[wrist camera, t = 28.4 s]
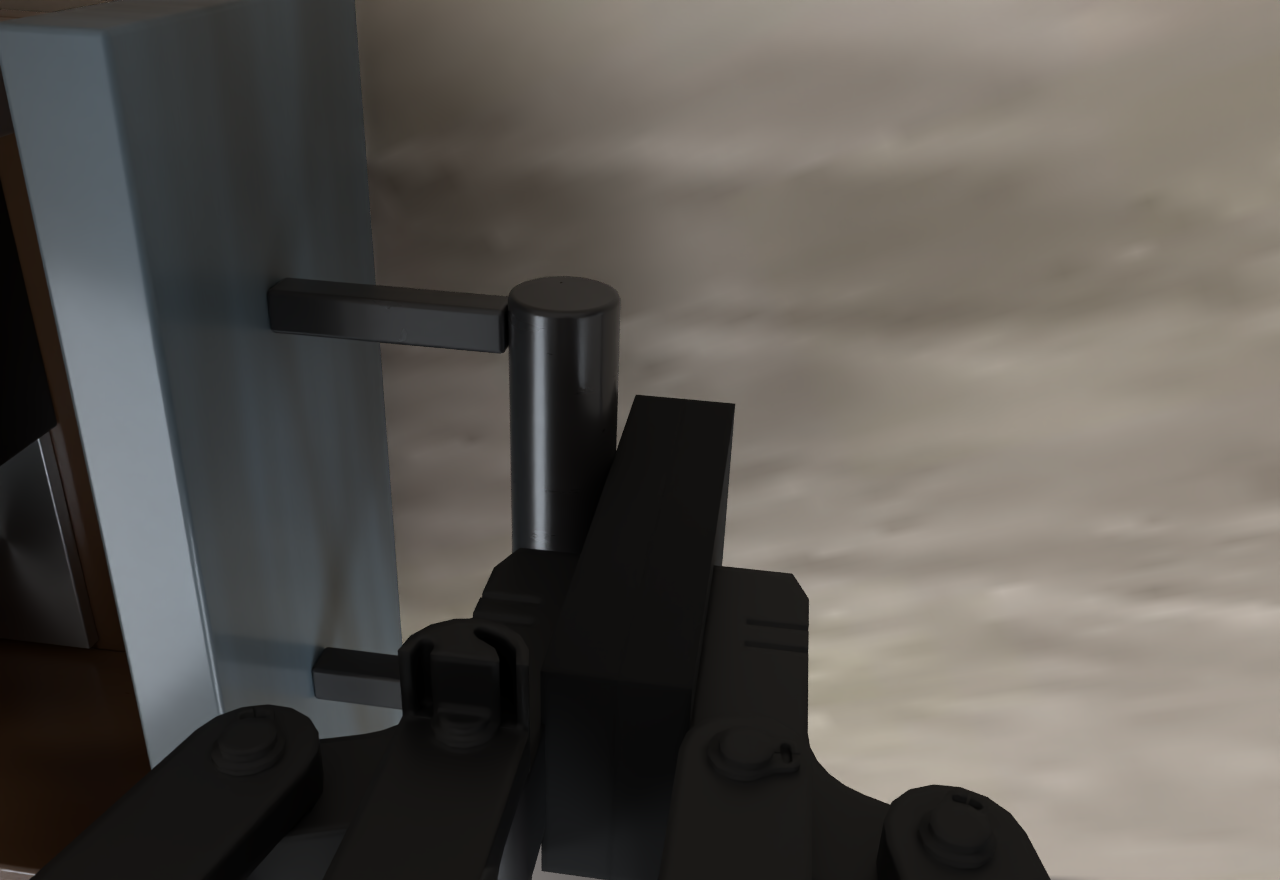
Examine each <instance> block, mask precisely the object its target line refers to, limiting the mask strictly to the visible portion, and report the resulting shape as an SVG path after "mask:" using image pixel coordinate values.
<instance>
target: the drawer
mask: <svg viewBox="0 0 1280 880" xmlns="http://www.w3.org/2000/svg"><path fill="white" fill-rule="evenodd" d="M0 179H1V183H2V187H3V191H4V196H5V200H6V204H7V209H8V213H9V217H10V222H11V226H12V230H13V235H14V239H15V243H16V247H17V252H18V256H19V260H20V265H21V269H22V273H23V278H24V282H25V286H26V290H27V295H28V299H29V303H30V308H31V312H32V316H33V321H34V325H35V329H36V333H37V338H38V342H39V346H40V351H41V355H42V359H43V364H44V368H45V372H46V377H47V381H48V385H49V389H50V394H51V398H52V402H53V407H54V411H55V415H56V420H57V426H56V427H54V428H53V429H51V430H50V431H49V433H50V438H51V442H52V446H53V450H54V454H55V459H56V463H57V467H58V471H59V476H60V480H61V484H62V488H63V492H64V497H65V501H66V505H67V509H68V513H69V518H70V522H71V526H72V530H73V535H74V539H75V543H76V547H77V551H78V556H79V560H80V564H81V568H82V573H83V577H84V581H85V585H86V589H87V594H88V598H89V602H90V606H91V611H92V615H93V619H94V623H95V627H96V632H97V636H98V641H97V642H96V643H95V644H94V645H93V646H92V647H91V648H89V649H87V648H79V647H71V646H62V645H54V644H45V643H37V642H29V641H20V640H12V639H4V638H0V880H29V879H30V878H32V877H33V876H34V875H35V874H36V873H37V872H38V871H39V870H40V869H42V868H43V867H44V866H45V865H46V864H47V863H48V862H49V861H50V860H52V859H53V858H54V857H55V856H56V855H57V854H58V853H59V852H60V851H62V850H63V849H64V848H65V847H66V846H67V845H68V844H69V843H70V842H72V841H73V840H74V839H75V838H76V837H77V836H78V835H79V834H81V833H82V832H83V831H84V830H85V829H86V828H87V827H88V826H89V825H91V824H92V823H93V822H94V821H95V820H96V819H97V818H98V817H99V816H101V815H102V814H103V813H104V812H105V811H106V810H107V809H108V808H109V807H111V806H112V805H113V804H114V803H115V802H116V801H117V800H118V799H119V798H121V797H122V796H123V795H124V794H125V793H126V792H127V791H128V790H130V789H131V788H132V787H133V786H134V785H135V784H136V783H137V782H138V781H140V780H141V779H142V778H143V777H144V776H145V775H146V774H147V773H148V772H150V771H151V770H152V769H153V768H154V767H155V766H156V765H157V764H158V763H160V762H161V761H162V760H163V759H164V758H165V757H166V756H167V755H168V754H170V753H171V752H172V751H173V750H174V749H175V748H176V747H177V746H179V745H180V744H181V743H182V742H183V741H184V740H185V739H186V738H187V737H189V736H190V735H191V734H192V733H193V732H194V731H195V730H197V729H198V728H200V727H201V726H203V725H204V724H206V723H207V722H209V721H210V720H212V719H213V718H215V717H216V716H218V715H221V714H224V713H227V712H230V711H233V710H235V709H238V708H241V707H247V706H256V705H266V704H271V705H277V706H283V707H290V708H293V709H295V710H297V711H299V712H300V713H302V714H304V715H306V716H308V717H309V718H310V719H311V721H312V722H313V724H314V726H315V727H316V729H317V730H318V732H319V739H325V738H334V737H342V736H351V735H360V734H366V733H371V732H376V731H381V730H384V729H387V728H389V727H392V726H395V725H398V724H399V722H400V720H401V718H402V716H403V713H402V701H401V688H400V675H399V663H398V649H399V648H400V647H401V646H402V634H401V621H400V607H399V594H398V580H397V567H396V553H395V540H394V526H393V513H392V499H391V485H390V472H389V458H388V445H387V431H386V418H385V404H384V391H383V377H382V363H381V350H380V343H391V344H402V345H412V346H423V347H434V348H445V349H456V350H467V351H478V352H489V353H504V352H505V350H506V349H507V347H508V346H509V397H510V455H511V512H512V553H513V552H515V551H516V550H517V549H519V548H529V549H539V550H548V551H558V552H567V553H576V554H581V552H582V549H583V546H584V543H585V540H586V537H587V534H588V532H589V529H590V526H591V523H592V520H593V517H594V514H595V511H596V508H597V506H598V503H599V500H600V497H601V494H602V491H603V488H604V485H605V482H606V479H607V477H608V474H609V471H610V468H611V465H612V462H613V460H614V458H615V455H616V438H617V406H618V374H619V342H620V310H621V299H620V296H619V294H618V292H617V291H616V290H615V289H614V288H613V287H611V286H609V285H607V284H605V283H602V282H599V281H596V280H592V279H587V278H581V277H570V276H555V277H544V278H538V279H533V280H529V281H526V282H523V283H521V284H519V285H517V286H515V287H514V288H513V289H512V290H511V292H510V294H509V296H497V295H485V294H473V293H462V292H450V291H438V290H427V289H415V288H404V287H392V286H380V285H376V282H375V269H374V255H373V241H372V228H371V214H370V201H369V187H368V174H367V160H366V147H365V133H364V120H363V106H362V92H361V79H360V65H359V52H358V38H357V25H356V11H355V0H117V1H112V2H106V3H101V4H95V5H90V6H84V7H79V8H73V9H67V10H62V11H56V12H36V11H19V10H2V9H0Z"/></svg>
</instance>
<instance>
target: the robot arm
mask: <svg viewBox="0 0 1280 880" xmlns="http://www.w3.org/2000/svg"><path fill="white" fill-rule="evenodd" d="M734 412H735V404H732V403H721V402H710V401H699V400H688V399H677V398H666V397H655V396H644V395H636V396H635V398H634V401H633V404H632V407H631V410H630V413H629V416H628V419H627V422H626V425H625V427H624V430H623V433H622V436H621V439H620V442H619V445H618V448H617V451H616V455H615V458H614V460H613V462H612V465H611V468H610V471H609V474H608V477H607V479H606V482H605V485H604V488H603V491H602V494H601V497H600V500H599V503H598V506H597V508H596V511H595V514H594V517H593V520H592V523H591V526H590V529H589V532H588V534H587V537H586V540H585V543H584V546H583V549H582V552H581V554H576V553H567V552H558V551H548V550H539V549H529V548H519V549H517V550H516V551H515V552H513V553H512V554H511V555H510V556H508V557H507V558H506V559H505V560H503V561H502V562H501V563H499V564H498V565H497V566H496V567H494V569H493V571H492V573H491V575H490V578H489V580H488V582H487V584H486V586H485V588H484V590H483V593H482V598H481V597H480V599H479V601H478V603H477V606H476V608H475V610H474V612H473V618H470V619H452V620H448V621H444V622H439V623H435V624H431V625H429V626H427V627H425V628H424V629H422V630H420V631H418V632H416V633H414V634H413V635H411V636H410V637H409V638H408V639H407V640H406V641H405V643H404V644H403V645H402V646H401V647H400V648H399V649H398V663H399V675H400V688H401V701H402V713H403V716H402V718H401V720H400V722H399V724H398V725H395V726H392V727H389V728H387V729H384V730H381V731H376V732H371V733H366V734H360V735H351V736H342V737H334V738H325V739H319V732H318V730H317V729H316V727H315V726H314V724H313V722H312V721H311V719H310V718H309V717H308V716H306V715H304V714H302V713H300V712H299V711H297V710H295V709H293V708H290V707H283V706H277V705H271V704H266V705H256V706H247V707H241V708H238V709H235V710H233V711H230V712H227V713H224V714H221V715H218V716H216V717H215V718H213V719H212V720H210V721H209V722H207V723H206V724H204V725H203V726H201V727H200V728H198V729H197V730H195V731H194V732H193V733H192V734H191V735H190V736H189V737H187V738H186V739H185V740H184V741H183V742H182V743H181V744H180V745H179V746H177V747H176V748H175V749H174V750H173V751H172V752H171V753H170V754H168V755H167V756H166V757H165V758H164V759H163V760H162V761H161V762H160V763H158V764H157V765H156V766H155V767H154V768H153V769H152V770H151V771H150V772H148V773H147V774H146V775H145V776H144V777H143V778H142V779H141V780H140V781H138V782H137V783H136V784H135V785H134V786H133V787H132V788H131V789H130V790H128V791H127V792H126V793H125V794H124V795H123V796H122V797H121V798H119V799H118V800H117V801H116V802H115V803H114V804H113V805H112V806H111V807H109V808H108V809H107V810H106V811H105V812H104V813H103V814H102V815H101V816H99V817H98V818H97V819H96V820H95V821H94V822H93V823H92V824H91V825H89V826H88V827H87V828H86V829H85V830H84V831H83V832H82V833H81V834H79V835H78V836H77V837H76V838H75V839H74V840H73V841H72V842H70V843H69V844H68V845H67V846H66V847H65V848H64V849H63V850H62V851H60V852H59V853H58V854H57V855H56V856H55V857H54V858H53V859H52V860H50V861H49V862H48V863H47V864H46V865H45V866H44V867H43V868H42V869H40V870H39V871H38V872H37V873H36V874H35V875H34V876H33V877H32V878H30V879H29V880H532V874H533V870H534V867H535V864H536V860H537V856H538V853H539V849H540V846H542V871H546V872H553V873H560V874H568V875H576V876H582V877H590V878H597V879H604V880H1051V879H1050V878H1049V876H1048V874H1047V872H1046V870H1045V868H1044V866H1043V864H1042V862H1041V860H1040V859H1039V857H1038V855H1037V853H1036V851H1035V849H1034V847H1033V845H1032V843H1031V841H1030V840H1029V838H1028V836H1027V834H1026V832H1025V831H1024V830H1023V829H1022V827H1021V826H1020V825H1019V824H1018V822H1017V821H1016V820H1015V818H1014V817H1013V816H1012V815H1011V813H1009V812H1008V811H1006V810H1005V809H1004V808H1002V807H1001V806H999V805H998V804H996V803H995V802H994V801H992V800H991V799H989V798H988V797H986V796H983V795H980V794H977V793H975V792H972V791H969V790H967V789H964V788H961V787H953V786H943V785H929V786H924V787H919V788H914V789H910V790H908V791H907V792H905V793H904V794H902V795H901V796H899V797H898V798H897V799H895V800H894V801H892V803H891V805H889V804H887V803H884V802H882V801H879V800H876V799H874V798H871V797H869V796H866V795H864V794H861V793H859V792H857V791H855V790H853V789H851V788H849V787H847V786H845V785H844V784H842V783H841V782H840V781H838V780H837V779H835V778H834V777H833V776H831V775H830V774H829V773H828V772H827V771H826V770H825V769H824V768H823V767H822V765H821V764H820V763H819V762H818V761H817V759H816V757H815V755H814V753H813V752H812V750H811V748H810V744H809V738H808V636H809V631H808V627H809V599H808V597H807V595H806V594H805V592H804V591H803V589H802V588H801V586H800V585H799V583H798V582H797V580H796V578H795V577H794V575H793V574H790V573H781V572H771V571H762V570H753V569H743V568H734V567H724V566H722V559H723V547H724V535H725V522H726V510H727V498H728V486H729V473H730V461H731V449H732V436H733V424H734Z"/></svg>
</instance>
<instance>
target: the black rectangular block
mask: <svg viewBox="0 0 1280 880" xmlns="http://www.w3.org/2000/svg"><path fill="white" fill-rule="evenodd" d="M56 426H57V420H56V415H55V411H54V407H53V402H52V398H51V394H50V389H49V385H48V381H47V377H46V372H45V368H44V364H43V359H42V355H41V351H40V346H39V342H38V338H37V333H36V329H35V325H34V321H33V316H32V312H31V308H30V303H29V299H28V295H27V290H26V286H25V282H24V278H23V273H22V269H21V265H20V260H19V256H18V252H17V247H16V243H15V239H14V235H13V230H12V226H11V222H10V217H9V213H8V209H7V204H6V200H5V196H4V191H3V187H2V183H1V179H0V638H4V639H12V640H20V641H29V642H37V643H45V644H54V645H62V646H71V647H79V648H87V649H89V648H91V647H92V646H93V645H94V644H95V643H96V642H97V641H98V636H97V632H96V627H95V623H94V619H93V615H92V611H91V606H90V602H89V598H88V594H87V589H86V585H85V581H84V577H83V573H82V568H81V564H80V560H79V556H78V551H77V547H76V543H75V539H74V535H73V530H72V526H71V522H70V518H69V513H68V509H67V505H66V501H65V497H64V492H63V488H62V484H61V480H60V476H59V471H58V467H57V463H56V459H55V454H54V450H53V446H52V442H51V438H50V433H49V431H50V430H51V429H53V428H54V427H56Z"/></svg>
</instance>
